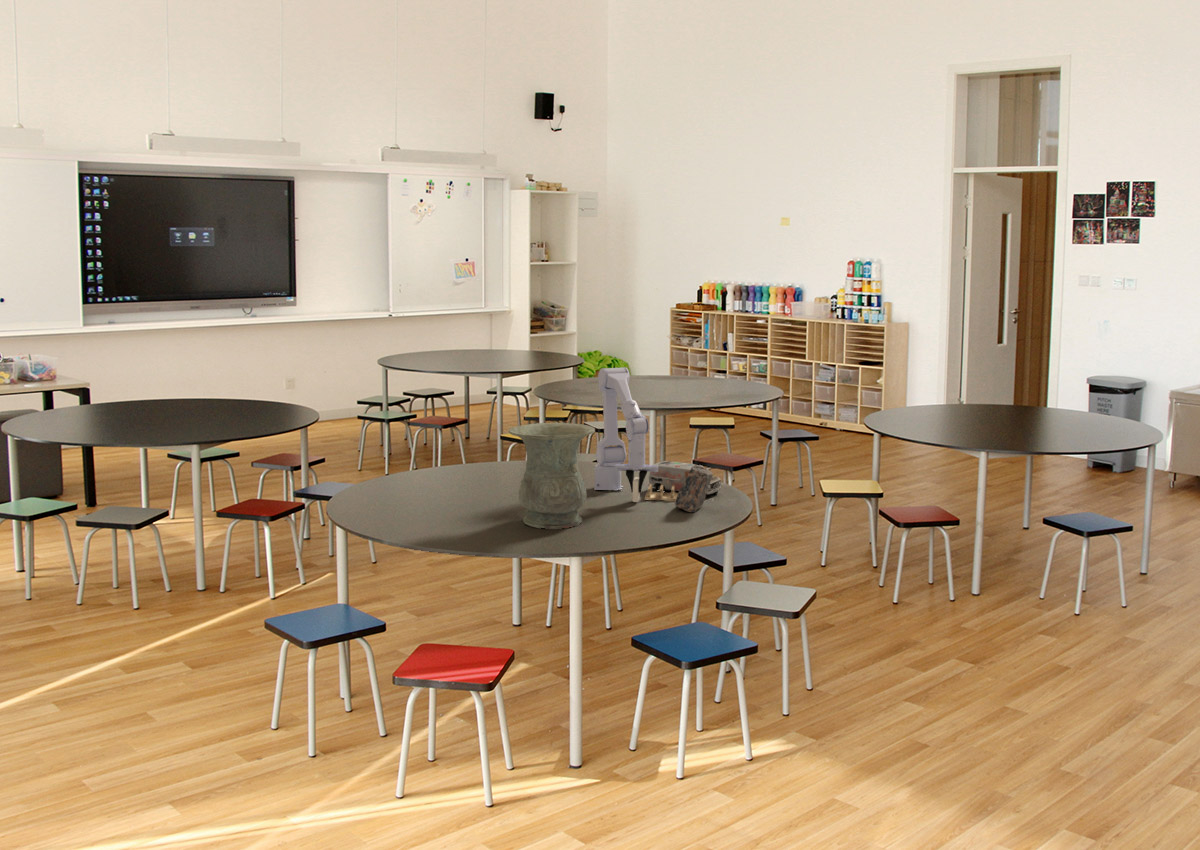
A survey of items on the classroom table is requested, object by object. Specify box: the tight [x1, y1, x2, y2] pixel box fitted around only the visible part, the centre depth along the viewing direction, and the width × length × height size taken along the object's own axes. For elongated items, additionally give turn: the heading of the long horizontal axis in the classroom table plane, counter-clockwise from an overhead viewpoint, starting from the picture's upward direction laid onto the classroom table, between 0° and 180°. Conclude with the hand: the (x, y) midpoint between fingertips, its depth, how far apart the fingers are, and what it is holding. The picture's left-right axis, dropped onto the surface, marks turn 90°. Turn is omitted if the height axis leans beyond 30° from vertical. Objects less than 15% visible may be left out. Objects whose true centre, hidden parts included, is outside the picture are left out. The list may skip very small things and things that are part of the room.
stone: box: [674, 464, 714, 513], centre depth 372 cm, size 13×13×15 cm
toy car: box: [647, 460, 722, 499], centre depth 398 cm, size 11×25×10 cm, turn 56°
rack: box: [644, 484, 678, 502], centre depth 388 cm, size 11×9×4 cm
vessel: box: [508, 422, 596, 530], centre depth 352 cm, size 27×27×30 cm
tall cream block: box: [632, 476, 641, 503], centre depth 381 cm, size 2×7×7 cm, turn 173°
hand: (636, 492), depth 381 cm, fingers closed on tall cream block, 2 cm apart
